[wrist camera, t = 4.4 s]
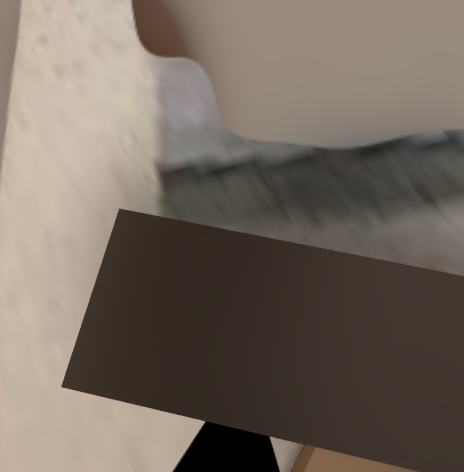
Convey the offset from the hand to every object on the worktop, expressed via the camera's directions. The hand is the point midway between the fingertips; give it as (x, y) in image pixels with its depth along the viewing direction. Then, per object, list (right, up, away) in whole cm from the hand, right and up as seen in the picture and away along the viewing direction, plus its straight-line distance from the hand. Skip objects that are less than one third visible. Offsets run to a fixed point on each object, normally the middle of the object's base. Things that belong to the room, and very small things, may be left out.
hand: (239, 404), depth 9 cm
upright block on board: (+8, -2, +6) cm, 10 cm away
